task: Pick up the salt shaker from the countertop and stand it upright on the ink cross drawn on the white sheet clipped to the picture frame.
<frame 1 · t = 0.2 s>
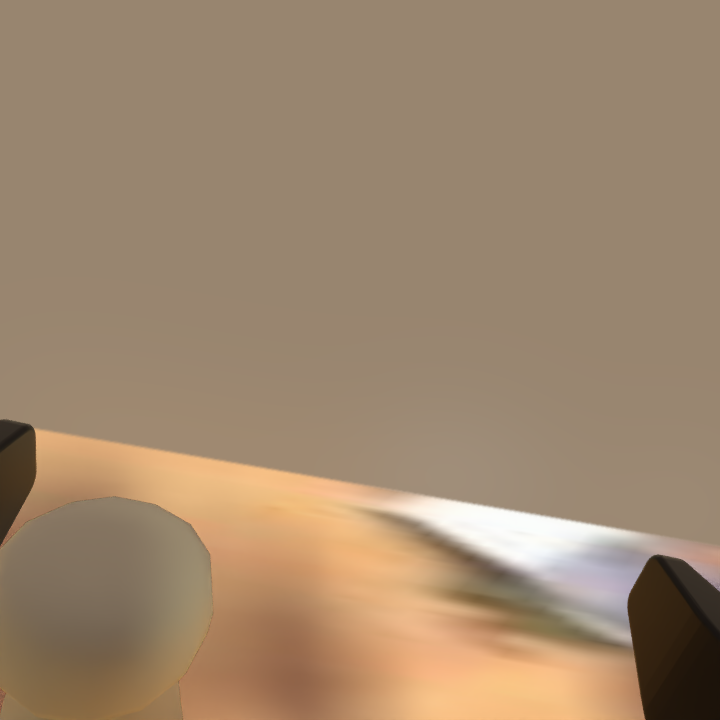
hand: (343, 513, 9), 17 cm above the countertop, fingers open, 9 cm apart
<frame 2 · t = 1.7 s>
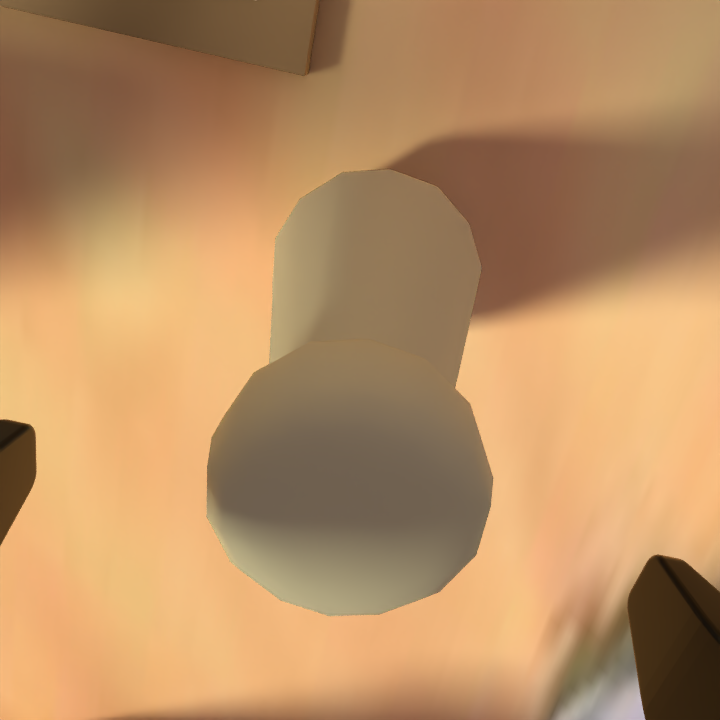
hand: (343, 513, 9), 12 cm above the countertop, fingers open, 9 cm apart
salt shaker: (378, 247, 21), on the countertop
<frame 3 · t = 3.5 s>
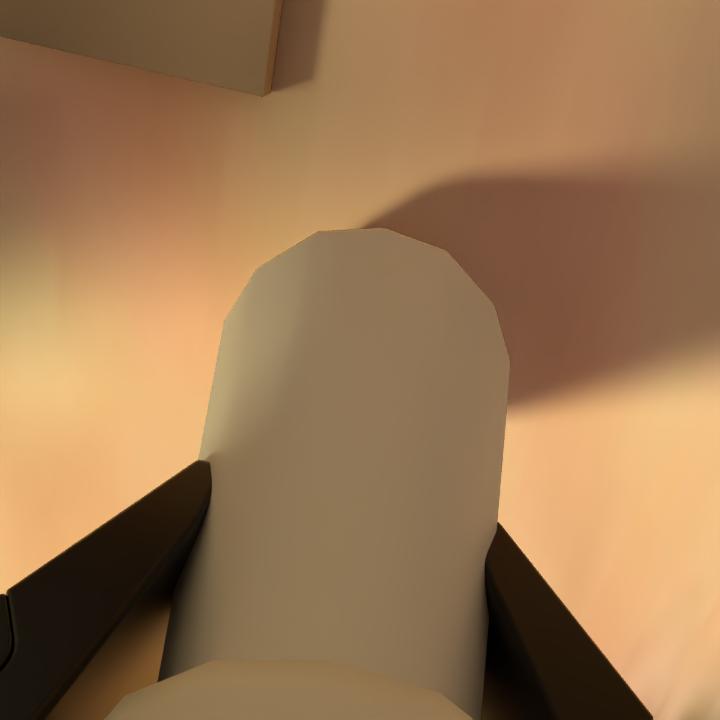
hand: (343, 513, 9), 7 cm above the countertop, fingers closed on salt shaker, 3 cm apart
salt shaker: (368, 318, 16), on the countertop, touching gripper
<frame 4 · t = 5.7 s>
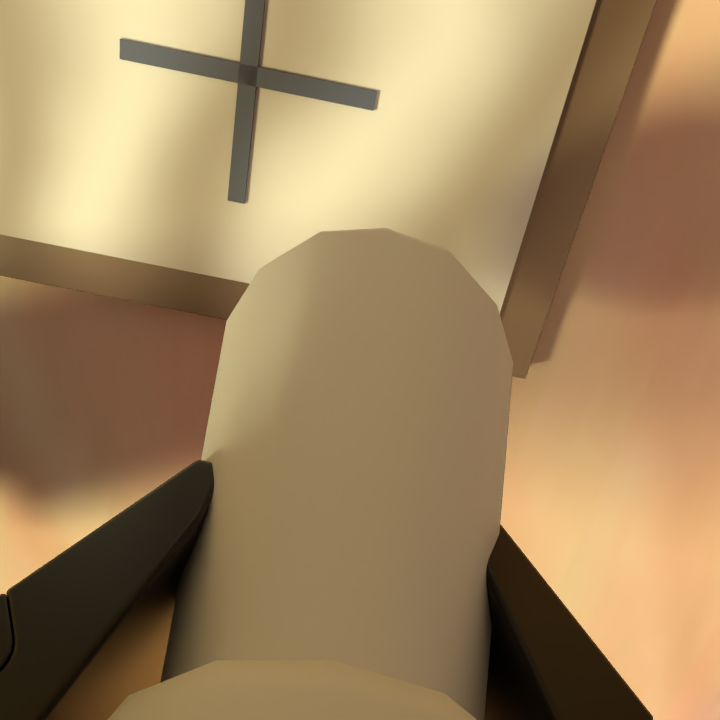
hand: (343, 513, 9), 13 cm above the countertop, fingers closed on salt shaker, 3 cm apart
salt shaker: (371, 318, 16), point 6 cm above the countertop, touching gripper
picture frame: (256, 72, 19), on the countertop
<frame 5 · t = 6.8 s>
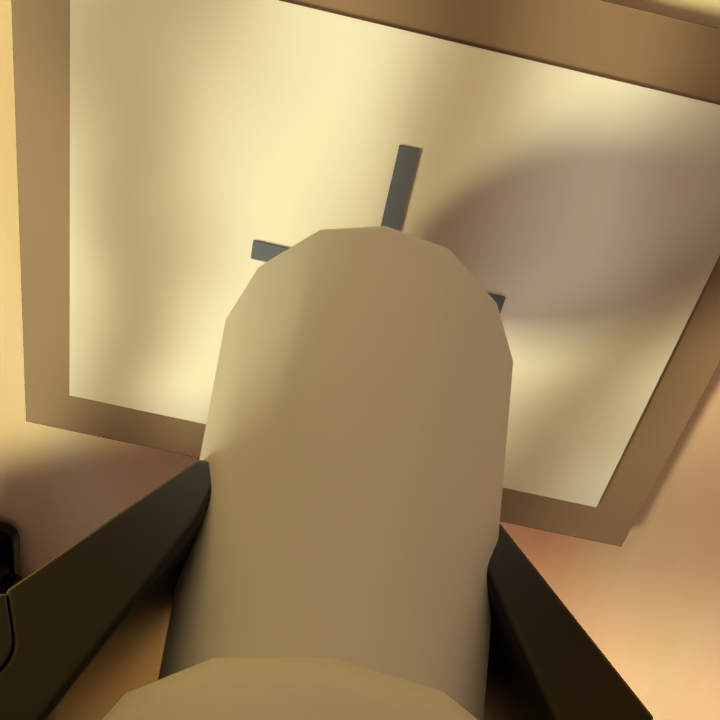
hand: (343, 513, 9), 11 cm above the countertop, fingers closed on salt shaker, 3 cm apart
salt shaker: (370, 317, 16), point 4 cm above the countertop, touching gripper
picture frame: (379, 264, 19), on the countertop
when the fingers open (9 cm above the countertop, at t = 7.8 s): salt shaker stays where it is, resting on picture frame.
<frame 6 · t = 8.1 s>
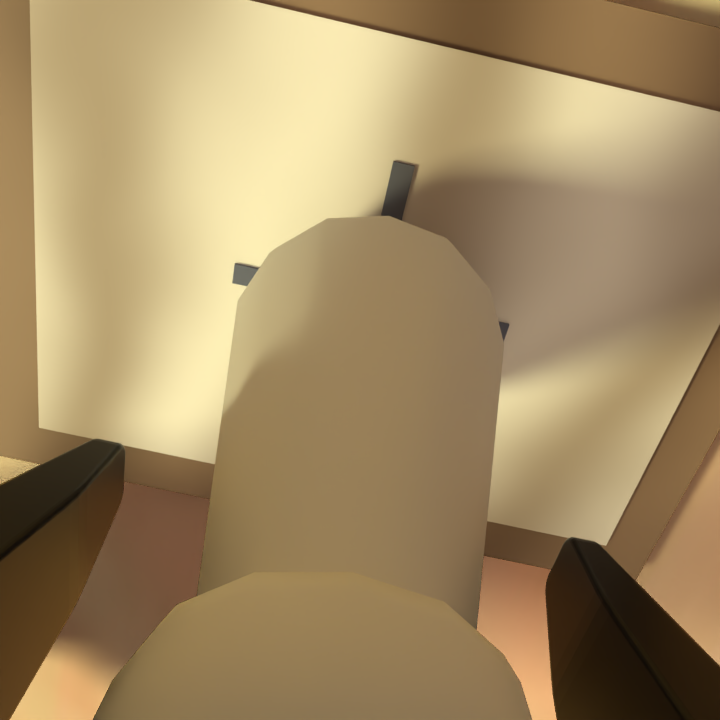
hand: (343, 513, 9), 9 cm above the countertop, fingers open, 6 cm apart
salt shaker: (371, 302, 17), point 1 cm above the countertop, touching picture frame
picture frame: (372, 288, 17), on the countertop
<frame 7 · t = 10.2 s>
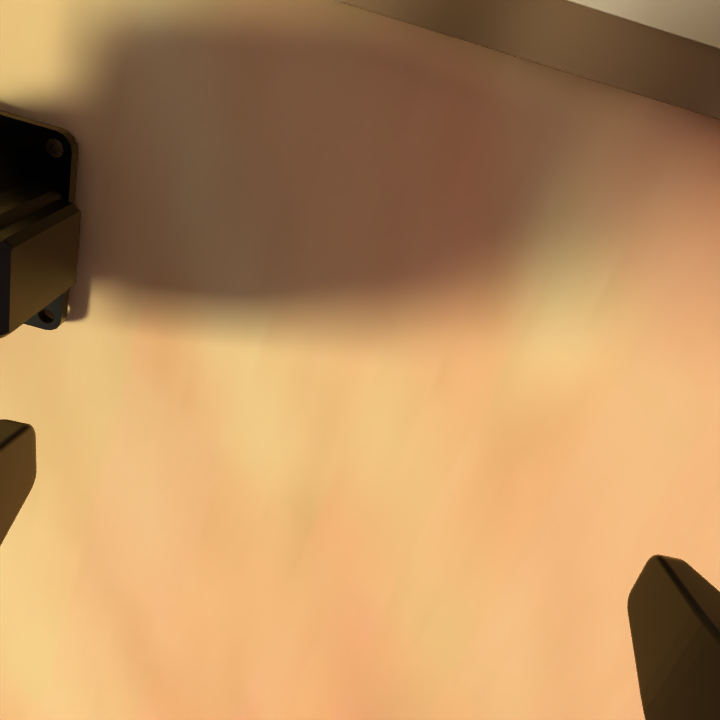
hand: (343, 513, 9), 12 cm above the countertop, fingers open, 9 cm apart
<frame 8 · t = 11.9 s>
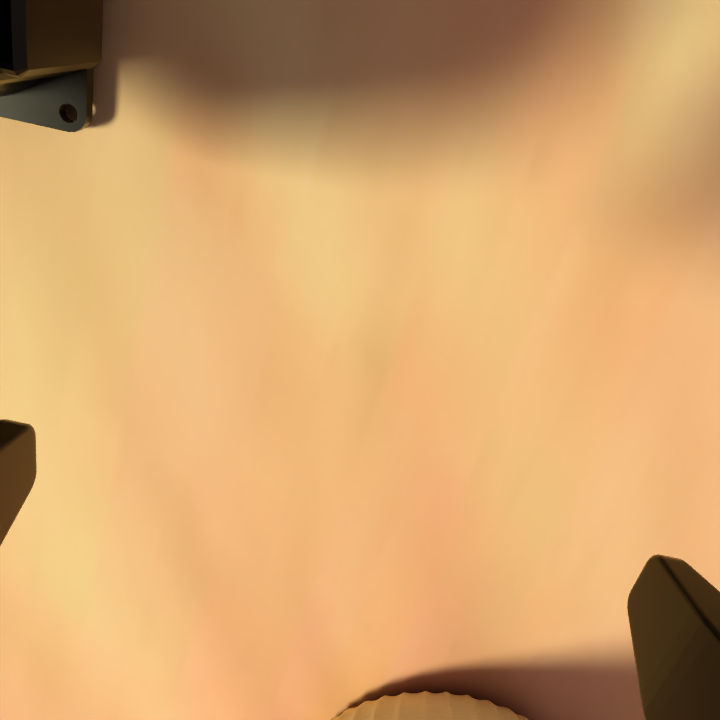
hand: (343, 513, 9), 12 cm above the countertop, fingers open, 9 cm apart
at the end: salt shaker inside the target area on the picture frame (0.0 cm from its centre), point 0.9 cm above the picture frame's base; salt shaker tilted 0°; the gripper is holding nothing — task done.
